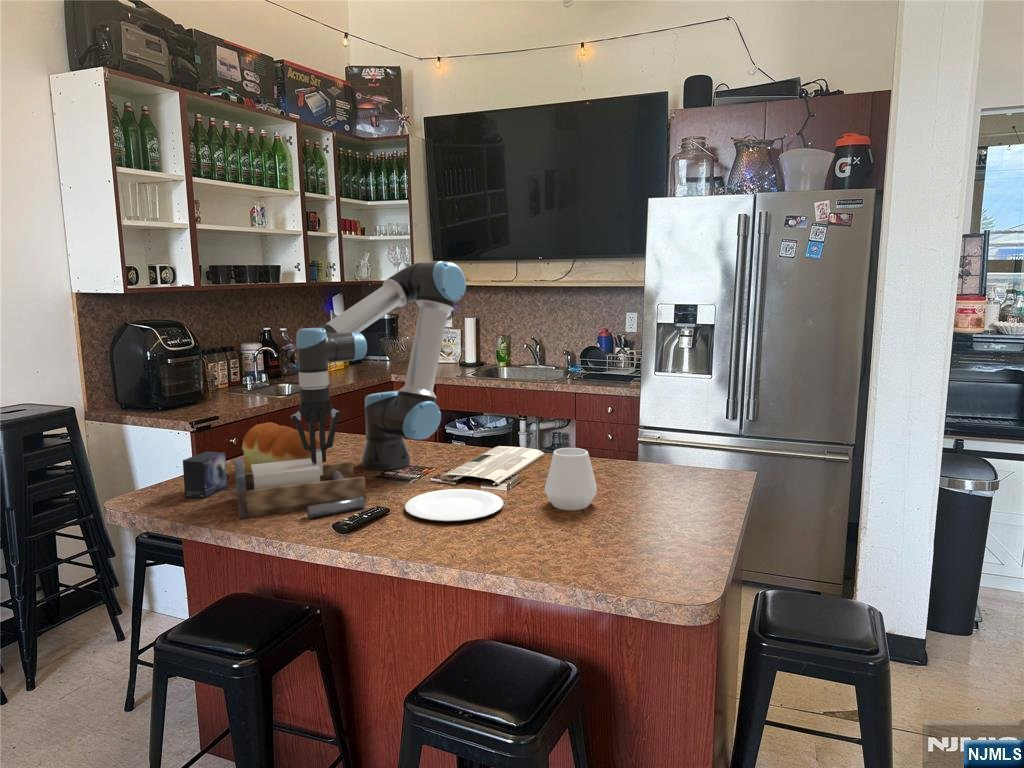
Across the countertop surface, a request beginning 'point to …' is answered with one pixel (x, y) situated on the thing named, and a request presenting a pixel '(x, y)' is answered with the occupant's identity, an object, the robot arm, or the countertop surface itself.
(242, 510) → the roller bed
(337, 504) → the roller
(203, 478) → the small box
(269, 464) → the slab
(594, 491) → the cup
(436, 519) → the plate
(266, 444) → the bread
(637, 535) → the countertop surface
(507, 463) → the newspaper
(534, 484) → the countertop surface
